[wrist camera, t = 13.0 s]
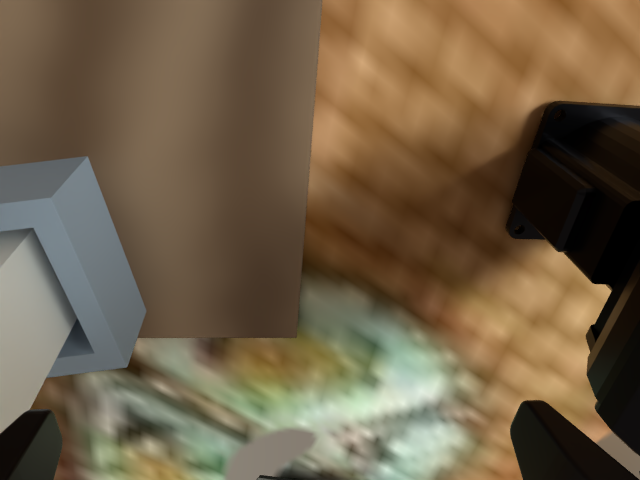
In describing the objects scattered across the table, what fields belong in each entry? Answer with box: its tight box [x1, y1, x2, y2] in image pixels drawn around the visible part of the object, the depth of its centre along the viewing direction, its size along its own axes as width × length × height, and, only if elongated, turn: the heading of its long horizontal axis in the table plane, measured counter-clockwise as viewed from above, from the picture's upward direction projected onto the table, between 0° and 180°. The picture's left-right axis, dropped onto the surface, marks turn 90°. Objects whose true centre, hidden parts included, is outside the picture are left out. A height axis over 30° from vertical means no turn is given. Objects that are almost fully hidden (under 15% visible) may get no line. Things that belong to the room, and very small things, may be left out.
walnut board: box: [0, 0, 322, 338], centre depth 18 cm, size 17×22×1 cm
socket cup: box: [0, 156, 146, 378], centre depth 19 cm, size 8×8×4 cm
